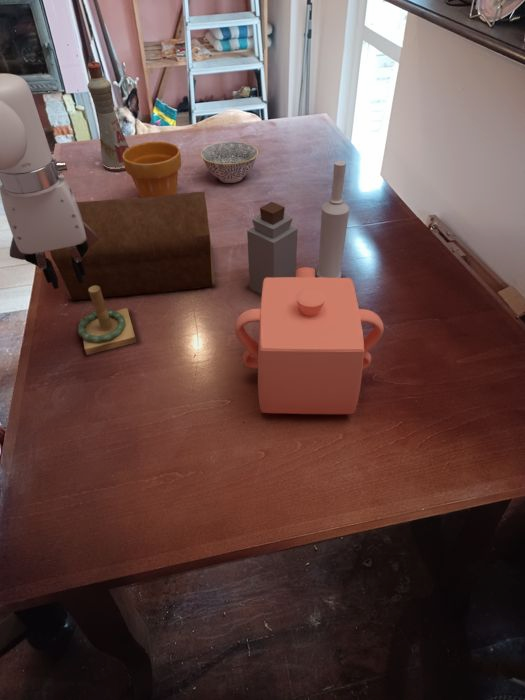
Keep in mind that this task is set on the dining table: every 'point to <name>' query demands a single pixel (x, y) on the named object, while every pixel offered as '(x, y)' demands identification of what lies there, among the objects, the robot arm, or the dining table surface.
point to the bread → (142, 246)
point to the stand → (106, 325)
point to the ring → (103, 337)
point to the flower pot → (153, 168)
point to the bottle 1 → (107, 119)
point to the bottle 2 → (333, 227)
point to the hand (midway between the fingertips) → (68, 280)
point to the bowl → (229, 160)
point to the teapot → (309, 344)
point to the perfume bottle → (271, 246)
